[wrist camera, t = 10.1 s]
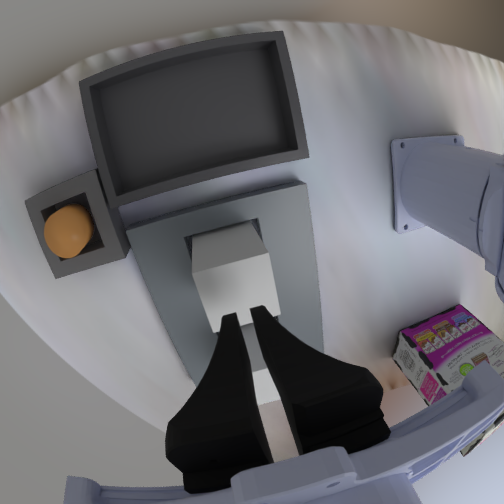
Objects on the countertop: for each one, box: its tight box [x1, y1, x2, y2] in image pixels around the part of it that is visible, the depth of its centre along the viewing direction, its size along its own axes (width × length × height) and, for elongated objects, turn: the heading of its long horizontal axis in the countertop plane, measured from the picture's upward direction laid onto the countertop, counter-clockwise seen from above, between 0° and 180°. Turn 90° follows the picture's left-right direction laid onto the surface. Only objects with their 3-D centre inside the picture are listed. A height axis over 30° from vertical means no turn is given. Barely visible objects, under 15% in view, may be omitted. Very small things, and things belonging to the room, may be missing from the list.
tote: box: [79, 31, 309, 209], centre depth 15 cm, size 12×8×2 cm
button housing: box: [25, 168, 131, 279], centre depth 17 cm, size 6×6×2 cm
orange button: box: [44, 203, 94, 258], centre depth 15 cm, size 3×3×2 cm
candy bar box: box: [393, 304, 504, 457], centre depth 22 cm, size 11×5×16 cm, turn 97°
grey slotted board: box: [126, 181, 324, 387], centre depth 22 cm, size 12×16×1 cm
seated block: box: [240, 323, 281, 405], centre depth 21 cm, size 4×4×6 cm
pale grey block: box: [192, 220, 281, 333], centre depth 18 cm, size 4×4×6 cm
